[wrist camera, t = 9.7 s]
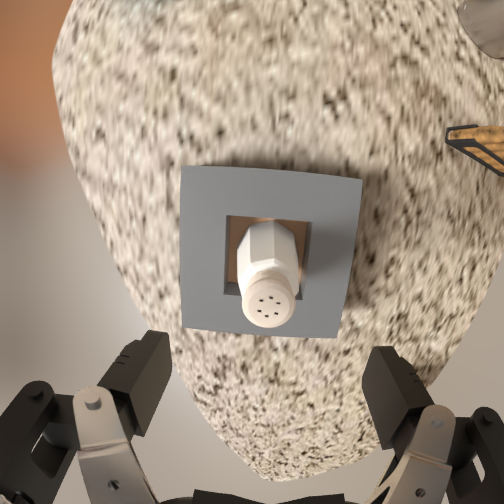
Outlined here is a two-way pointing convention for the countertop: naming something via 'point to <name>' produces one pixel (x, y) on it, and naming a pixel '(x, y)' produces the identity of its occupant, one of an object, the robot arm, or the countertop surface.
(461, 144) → the ammunition clip
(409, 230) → the countertop surface
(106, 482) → the robot arm
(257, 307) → the pepper shaker
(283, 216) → the frame
